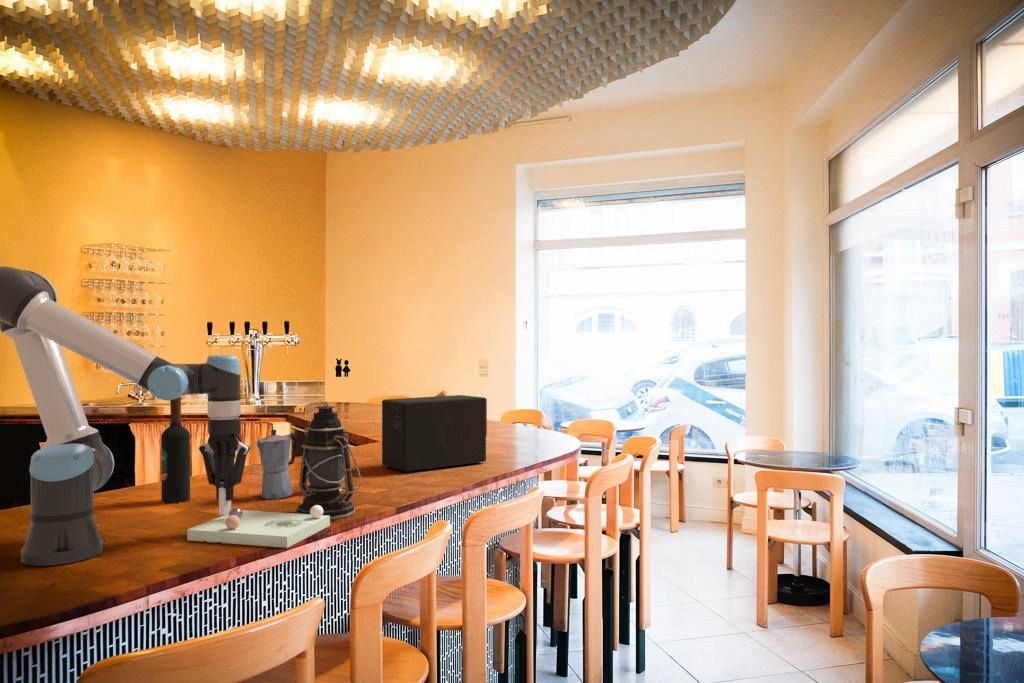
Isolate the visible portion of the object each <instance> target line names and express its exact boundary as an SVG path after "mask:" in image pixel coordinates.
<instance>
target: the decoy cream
mask: <svg viewBox="0 0 1024 683" xmlns="http://www.w3.org/2000/svg"><path fill="white" fill-rule="evenodd" d="M310 514H311V516H312V517H313V518H320V517H321V516H322V515H323V508H322V507H321V506H319V505H315V506H313V507H312V508H311V510H310Z"/></svg>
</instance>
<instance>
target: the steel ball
mask: <svg viewBox="0 0 1024 683" xmlns="http://www.w3.org/2000/svg"><path fill="white" fill-rule="evenodd" d="M228 514H229V516H231V515H236V516H238V517H239V519H241V518H242V515H243V512H242V508H240V507H236V506H235V507H232V508H231V510H230V512H229V513H228Z"/></svg>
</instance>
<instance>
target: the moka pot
mask: <svg viewBox="0 0 1024 683" xmlns="http://www.w3.org/2000/svg"><path fill="white" fill-rule="evenodd" d="M270 432H271V435H269V436H266V437H262V438H260V439H257V441H256V443H255V446H256V447H257V448H258V453H259V457H260V463H261V464H260V465H262V470H263V473H262V481H261V482H262V485H261V498H263V499H264V498H265V500H278V499H283V498H287V497H289V496H292V495H293V488H292V487H293V486H292V481H291V475H290V472H289V465H293V464H295V458H296V454H297V449H298V445H299V439H298V438H297V436H296V435H295V433H293V432H291V433H289V434H284V435H278V434H277V429H272V430H270ZM291 440H293V441H294V443H293V448H292V455H291V454H290V452H291V442H292V441H291ZM290 455H291V456H290ZM290 457H291V459H290Z"/></svg>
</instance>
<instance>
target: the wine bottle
mask: <svg viewBox="0 0 1024 683" xmlns="http://www.w3.org/2000/svg"><path fill="white" fill-rule="evenodd" d="M169 403H170V423H169V426H168V427H167V428H165V429H164V430H163V432H162V433H161V435H160V436H161V437H160V438H161V440H160V442H161V443H160V444H161V448H160V449H161V454H160V455H161V456H160V458H161V459H160V460H161V462H160V463H161V464H160V466H161V471H160V472H161V476H160V477H161V484H160V486H161V488H160V489H161V496H160V497H161V501H162V502H164V503H163V504H165V503H176V504H180V503H179V502H183V503H186V502H185V501H187V502H189V501H188V500H191V434H190V432H189V431H190V430H188V429H187V428H186V427H185V426H183V424H182V397H181V396H180V397H179V398H177V399H173V400H169ZM162 502H161V503H162Z"/></svg>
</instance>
